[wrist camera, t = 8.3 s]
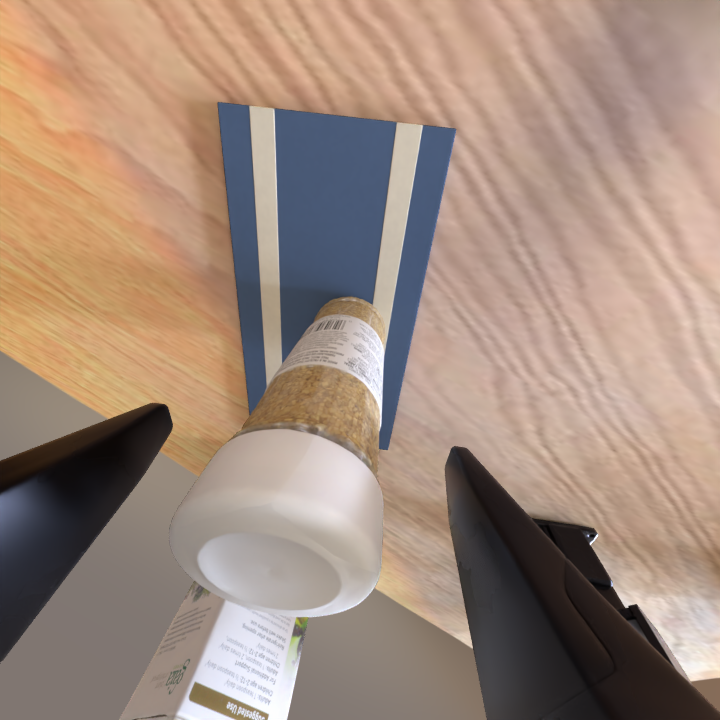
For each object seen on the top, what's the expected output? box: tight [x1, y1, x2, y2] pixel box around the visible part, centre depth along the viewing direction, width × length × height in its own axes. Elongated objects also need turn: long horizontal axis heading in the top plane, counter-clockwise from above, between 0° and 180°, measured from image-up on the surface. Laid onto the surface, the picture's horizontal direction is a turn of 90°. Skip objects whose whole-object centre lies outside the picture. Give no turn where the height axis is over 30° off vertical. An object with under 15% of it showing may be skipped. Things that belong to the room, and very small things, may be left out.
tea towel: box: [218, 102, 456, 450], centre depth 18 cm, size 20×11×1 cm, turn 174°
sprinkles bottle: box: [169, 296, 386, 617], centre depth 12 cm, size 5×5×13 cm
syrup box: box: [119, 581, 308, 720], centre depth 19 cm, size 6×6×14 cm
